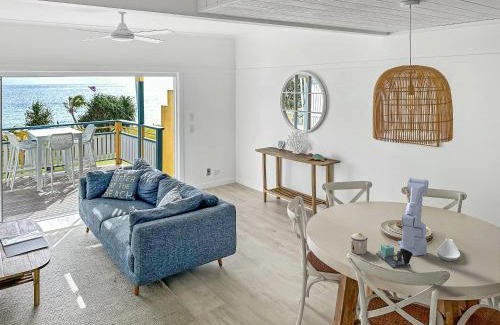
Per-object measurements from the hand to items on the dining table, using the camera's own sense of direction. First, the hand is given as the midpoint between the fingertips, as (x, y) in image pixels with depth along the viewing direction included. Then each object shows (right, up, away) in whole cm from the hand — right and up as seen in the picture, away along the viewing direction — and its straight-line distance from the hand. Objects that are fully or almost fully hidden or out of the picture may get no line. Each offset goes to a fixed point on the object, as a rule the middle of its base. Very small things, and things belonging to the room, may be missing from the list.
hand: (406, 262), depth 202 cm
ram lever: (-1, -2, +8) cm, 8 cm away
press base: (-2, -2, +13) cm, 13 cm away
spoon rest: (+31, 0, +19) cm, 36 cm away
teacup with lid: (-18, 0, +23) cm, 29 cm away
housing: (-4, +1, +18) cm, 18 cm away
